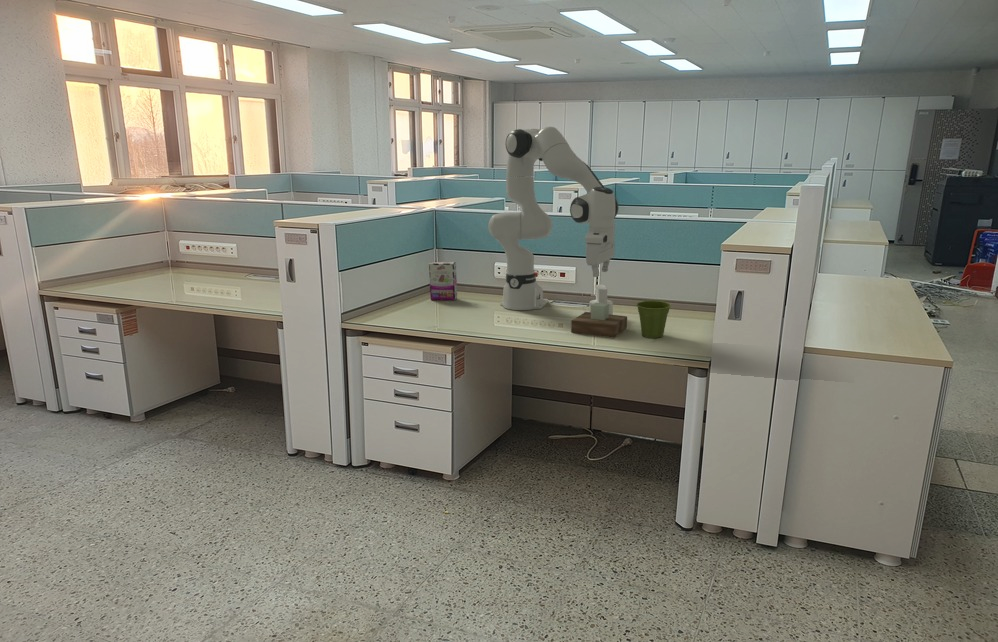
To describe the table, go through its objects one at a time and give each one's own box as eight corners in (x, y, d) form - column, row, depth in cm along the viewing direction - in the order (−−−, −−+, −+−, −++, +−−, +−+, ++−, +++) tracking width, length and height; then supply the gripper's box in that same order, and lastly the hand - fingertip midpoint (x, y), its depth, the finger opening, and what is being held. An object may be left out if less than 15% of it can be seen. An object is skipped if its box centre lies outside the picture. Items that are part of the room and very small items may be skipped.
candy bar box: (457, 298, 296) (456, 261, 292) (455, 300, 291) (453, 263, 287) (433, 297, 298) (431, 261, 294) (430, 300, 293) (428, 263, 289)
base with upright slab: (587, 314, 264) (588, 284, 261) (610, 314, 264) (611, 284, 261) (590, 320, 256) (591, 289, 253) (614, 319, 256) (615, 289, 253)
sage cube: (595, 315, 243) (595, 302, 242) (608, 317, 241) (609, 303, 240) (590, 318, 239) (590, 305, 238) (603, 320, 237) (604, 306, 236)
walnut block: (585, 324, 251) (585, 311, 250) (626, 329, 243) (627, 316, 242) (571, 333, 239) (571, 320, 238) (614, 339, 231) (614, 325, 230)
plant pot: (631, 331, 239) (632, 301, 236) (663, 330, 239) (665, 300, 237) (640, 341, 227) (641, 308, 224) (674, 339, 228) (676, 307, 225)
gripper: (602, 230, 243) (601, 268, 246) (582, 238, 225) (582, 278, 229) (619, 231, 240) (618, 269, 244) (600, 239, 222) (599, 280, 226)
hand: (600, 274), depth 236 cm, fingers open, 8 cm apart
